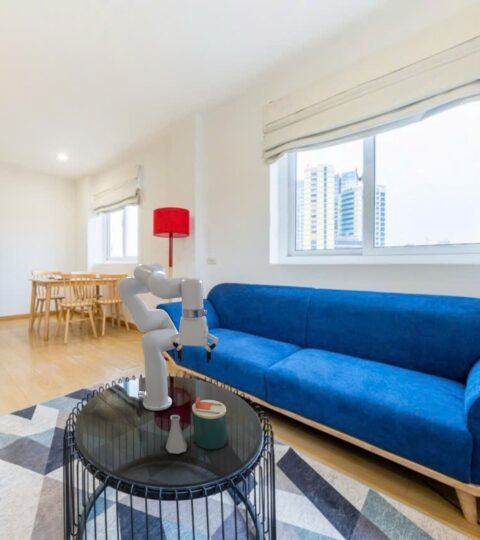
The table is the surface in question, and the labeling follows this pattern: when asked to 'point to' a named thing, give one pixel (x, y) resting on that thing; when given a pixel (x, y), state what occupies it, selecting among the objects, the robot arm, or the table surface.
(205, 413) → the sliding lid canister
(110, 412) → the table surface
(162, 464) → the table surface
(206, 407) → the slider
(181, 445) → the flask
